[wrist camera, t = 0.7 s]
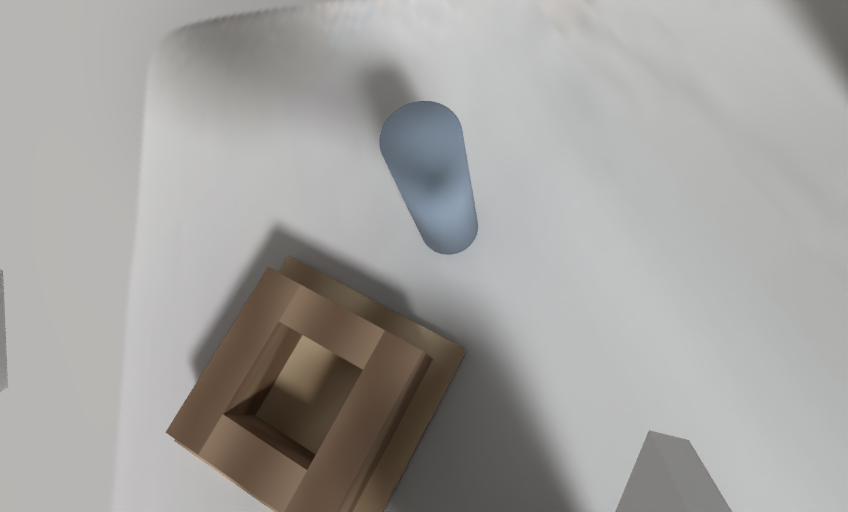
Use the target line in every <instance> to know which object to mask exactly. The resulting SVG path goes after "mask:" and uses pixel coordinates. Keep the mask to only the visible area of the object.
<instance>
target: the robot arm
mask: <svg viewBox="0 0 848 512" xmlns="http://www.w3.org/2000/svg"><path fill="white" fill-rule="evenodd" d="M7 387H8V381H7V356H6V332H5V309H4V285H3V270H0V392H1V391H2V390H4V389H6V388H7ZM616 512H732V511H731V509H730V508H729V506H728V504H727V503H726V501H725V499H724V498H723V496H722V494H721V493H720V491H719V489H718V488H717V486H716V484H715V483H714V481H713V479H712V478H711V476H710V474H709V473H708V471H707V470H706V468H705V466H704V465H703V463H702V461H701V460H700V458H699V456H698V455H697V453H696V451H695V450H694V448H693V446H692V445H691V443H690V441H689V440H686V439H682V438H678V437H674V436H669V435H665V434H661V433H657V432H653V431H649V432H648V434H647V437H646V439H645V441H644V444H643V446H642V449H641V451H640V454H639V456H638V458H637V461H636V463H635V466H634V468H633V470H632V473H631V475H630V478H629V480H628V483H627V485H626V487H625V490H624V492H623V495H622V497H621V499H620V502H619V504H618V507H617V509H616Z"/></svg>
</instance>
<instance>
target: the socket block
mask: <svg viewBox="0 0 848 512" xmlns="http://www.w3.org/2000/svg"><path fill="white" fill-rule="evenodd" d="M465 353H466V349H464V348H462V347H461V346H459V345H457V344H455V343H453V342H451V341H449V340H447V339H445V338H443V337H442V336H440V335H438V334H436V333H434V332H432V331H430V330H428V329H426V328H424V327H423V326H421V325H419V324H417V323H415V322H413V321H411V320H409V319H407V318H405V317H404V316H402V315H400V314H398V313H396V312H394V311H392V310H390V309H388V308H387V307H385V306H383V305H381V304H379V303H377V302H375V301H373V300H371V299H369V298H368V297H366V296H364V295H362V294H360V293H358V292H356V291H354V290H352V289H350V288H349V287H347V286H345V285H343V284H341V283H339V282H337V281H335V280H333V279H331V278H330V277H328V276H326V275H324V274H322V273H320V272H318V271H316V270H314V269H312V268H311V267H309V266H307V265H305V264H303V263H301V262H299V261H297V260H295V259H294V258H292V257H290V256H288V257H287V259H286V261H285V262H284V264H283V265H282V267H281V269H280V270H279V272H277V271H275V270H273V269H271V268H269V267H268V269H267V270H266V272H265V273H264V275H263V277H262V278H261V280H260V282H259V283H258V285H257V286H256V288H255V290H254V291H253V293H252V294H251V296H250V298H249V299H248V301H247V302H246V304H245V306H244V307H243V309H242V310H241V312H240V314H239V315H238V317H237V318H236V320H235V322H234V323H233V325H232V327H231V328H230V330H229V331H228V333H227V335H226V336H225V338H224V339H223V341H222V343H221V344H220V346H219V347H218V349H217V351H216V352H215V354H214V355H213V357H212V359H211V360H210V362H209V363H208V365H207V367H206V368H205V370H204V372H203V373H202V375H201V376H200V378H199V380H198V381H197V383H196V384H195V386H194V388H193V389H192V391H191V392H190V394H189V396H188V397H187V399H186V400H185V402H184V404H183V405H182V407H181V408H180V410H179V412H178V413H177V415H176V416H175V418H174V420H173V421H172V423H171V425H170V426H169V428H168V429H167V431H166V433H167V434H169V435H170V436H172V437H173V438H175V440H174V441H175V442H177V443H178V444H180V445H181V446H182V447H184V448H185V449H187V450H188V451H189V452H191V453H192V454H194V455H195V456H196V457H198V458H199V459H201V460H202V461H204V462H205V463H206V464H208V465H209V466H211V467H212V468H213V469H215V470H216V471H218V472H219V473H220V474H222V475H223V476H225V477H226V478H228V479H229V480H230V481H232V482H233V483H235V484H236V485H237V486H239V487H240V488H242V489H243V490H244V491H246V492H247V493H249V494H250V495H251V496H253V497H254V498H256V499H257V500H259V501H260V502H261V503H263V504H264V505H266V506H267V507H268V508H270V509H271V510H273V511H274V512H383V511H384V510H385V508H386V506H387V504H388V502H389V500H390V498H391V496H392V494H393V492H394V490H395V488H396V486H397V484H398V482H399V481H400V479H401V477H402V475H403V473H404V471H405V469H406V467H407V465H408V463H409V461H410V459H411V457H412V455H413V453H414V451H415V450H416V448H417V446H418V444H419V442H420V440H421V438H422V436H423V434H424V432H425V430H426V428H427V426H428V424H429V422H430V420H431V419H432V417H433V415H434V413H435V411H436V409H437V407H438V405H439V403H440V401H441V399H442V397H443V395H444V393H445V391H446V389H447V388H448V386H449V384H450V382H451V380H452V378H453V376H454V374H455V372H456V370H457V368H458V366H459V364H460V362H461V360H462V359H463V357H464V355H465Z"/></svg>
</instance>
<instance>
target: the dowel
mask: <svg viewBox="0 0 848 512" xmlns="http://www.w3.org/2000/svg"><path fill="white" fill-rule="evenodd" d="M380 149H381V152H382V155H383V157H384V159H385V161H386V163H387V165H388V168H389V170H390V172H391V174H392V176H393V178H394V180H395V182H396V184H397V186H398V188H399V190H400V193H401V195H402V197H403V199H404V201H405V203H406V205H407V207H408V209H409V211H410V213H411V215H412V218H413V220H414V222H415V224H416V226H417V228H418V230H419V232H420V234H421V236H422V238H423V240H424V242H425V243H426V245H427V246H428V247H429V248H430V249H432V250H433V251H435V252H438V253H441V254H455V253H459V252H461V251H463V250H465V249H466V248H468V247H469V246H470V245H471V243H472V242H473V241H474V239H475V237H476V235H477V231H478V221H477V215H476V209H475V203H474V198H473V192H472V186H471V180H470V174H469V168H468V162H467V156H466V150H465V144H464V138H463V132H462V127H461V124H460V121H459V119H458V118H457V116H456V115H455V114H454V113H453V111H451V110H450V109H449V108H447V107H446V106H444V105H442V104H439V103H436V102H431V101H419V102H414V103H410V104H408V105H405V106H403V107H401V108H400V109H398V110H397V111H395V112H394V113H393V114H392V115H391V116H390V117H389V118H388V120H387V121H386V122H385V124H384V126H383V128H382V131H381V135H380Z"/></svg>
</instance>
